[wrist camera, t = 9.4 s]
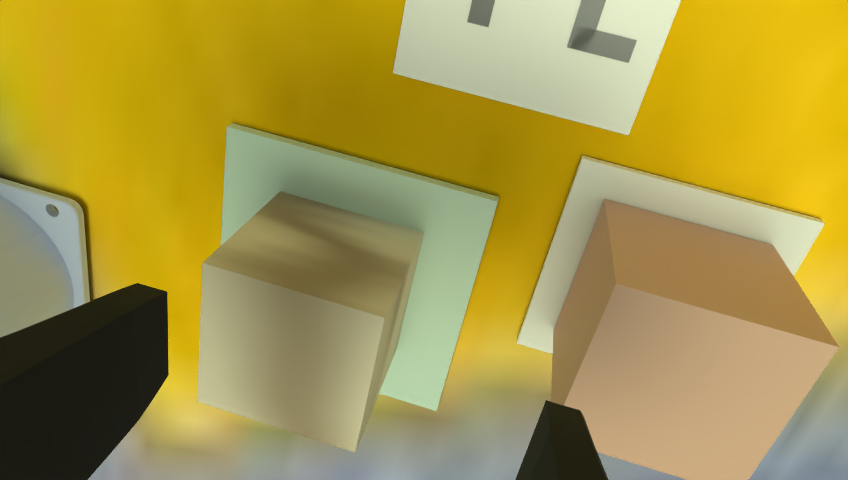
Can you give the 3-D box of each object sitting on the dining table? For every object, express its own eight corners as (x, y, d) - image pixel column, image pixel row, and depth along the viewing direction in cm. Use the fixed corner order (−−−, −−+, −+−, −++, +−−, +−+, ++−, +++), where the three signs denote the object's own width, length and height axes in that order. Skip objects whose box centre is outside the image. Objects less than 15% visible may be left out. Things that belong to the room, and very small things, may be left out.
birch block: (268, 311, 23) (197, 401, 18) (280, 190, 20) (202, 262, 16) (396, 350, 22) (355, 452, 18) (424, 232, 20) (384, 318, 16)
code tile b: (517, 338, 22) (516, 344, 21) (582, 155, 18) (582, 159, 18) (715, 397, 21) (718, 404, 21) (821, 219, 18) (825, 224, 17)
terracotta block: (553, 329, 21) (549, 437, 16) (604, 198, 18) (616, 283, 14) (701, 373, 20) (737, 495, 16) (773, 244, 18) (838, 346, 14)
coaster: (220, 336, 24) (215, 342, 24) (232, 122, 20) (226, 126, 20) (438, 404, 24) (436, 411, 23) (499, 196, 19) (498, 201, 19)
